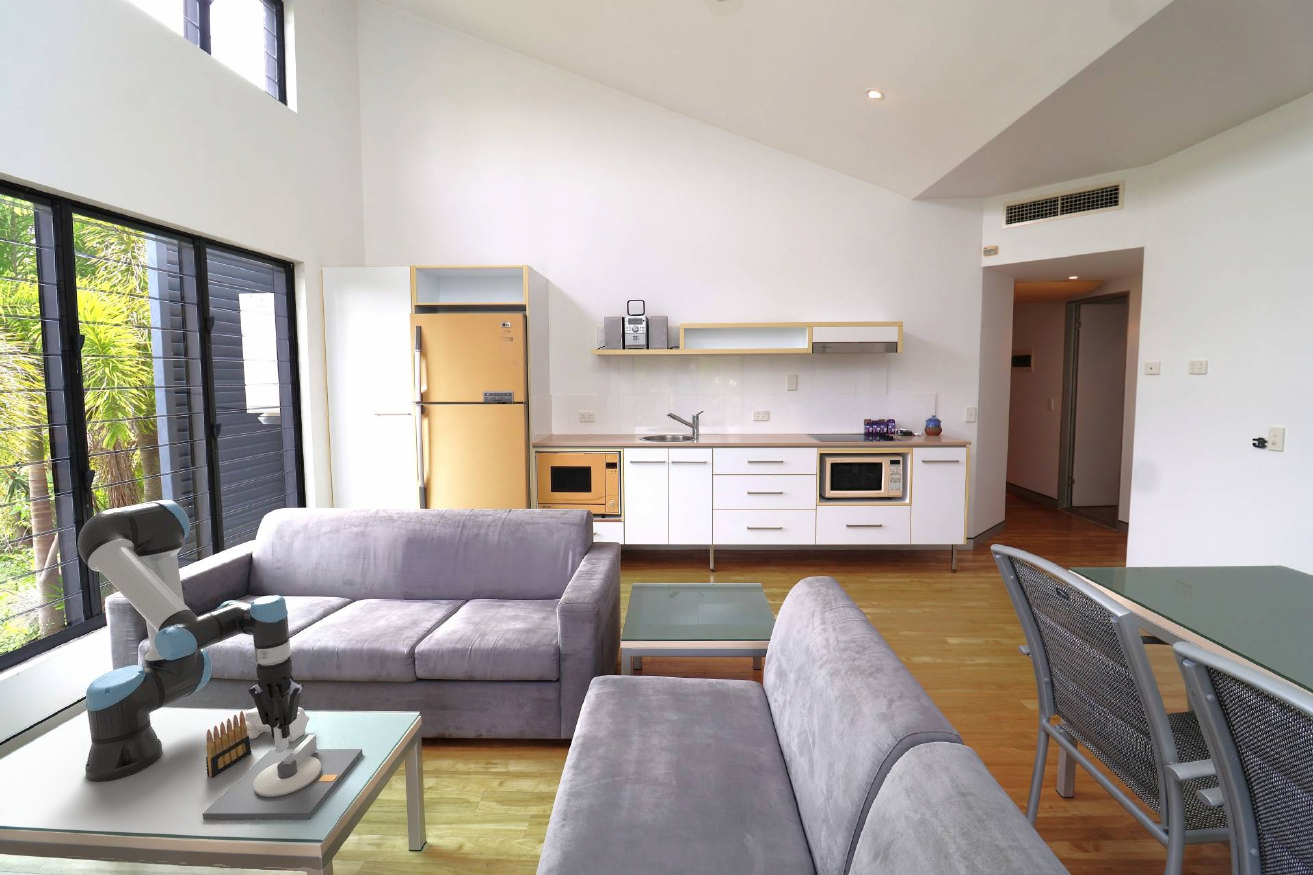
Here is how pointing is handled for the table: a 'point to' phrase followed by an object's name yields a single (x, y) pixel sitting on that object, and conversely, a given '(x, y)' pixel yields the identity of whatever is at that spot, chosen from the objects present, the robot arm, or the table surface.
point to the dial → (290, 771)
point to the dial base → (295, 805)
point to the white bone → (257, 727)
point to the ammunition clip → (227, 746)
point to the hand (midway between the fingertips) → (282, 749)
